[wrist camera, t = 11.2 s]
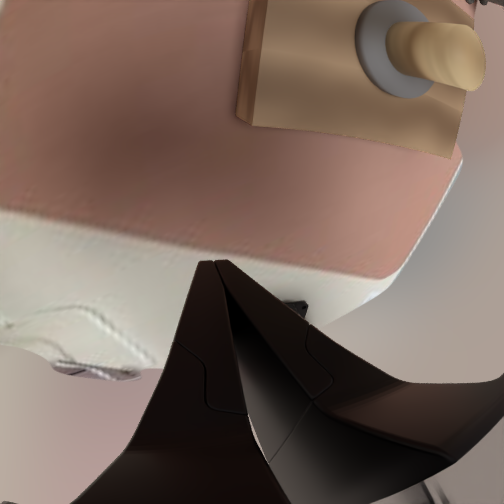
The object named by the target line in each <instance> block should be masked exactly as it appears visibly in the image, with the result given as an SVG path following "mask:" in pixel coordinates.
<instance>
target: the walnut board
mask: <svg viewBox="0 0 504 504" xmlns="http://www.w3.org/2000/svg"><path fill="white" fill-rule="evenodd" d="M377 1H383V0H249V6H248V14H247V21H246V29H245V36H244V44H243V52H242V61H241V69H240V78H239V87H238V96H237V105H236V114H235V115H236V116H237V117H239V118H240V119H242V120H244V121H245V122H247V123H248V124H250V125H251V126H261V127H274V128H285V129H295V130H305V131H313V132H321V133H328V134H335V135H342V136H348V137H354V138H360V139H366V140H371V141H376V142H381V143H386V144H391V145H396V146H400V147H405V148H409V149H413V150H417V151H421V152H425V153H429V154H433V155H437V156H440V157H444V158H448V159H451V156H452V153H453V149H454V145H455V142H456V138H457V133H458V129H459V125H460V120H461V116H462V112H463V107H464V101H465V96H466V90H465V89H461V88H458V87H454V86H451V85H447V84H443V83H439V82H434V83H433V85H432V86H431V88H430V89H429V90H428V91H427V92H426V93H424V94H423V95H421V96H419V97H416V98H409V99H408V98H402V97H398V96H394V95H391V94H388V93H385V92H384V91H382V90H380V89H379V88H378V87H376V86H375V85H374V84H373V83H372V82H371V81H370V80H369V78H368V77H367V76H366V74H365V72H364V71H363V69H362V67H361V65H360V62H359V60H358V57H357V53H356V49H355V38H354V36H355V27H356V23H357V20H358V18H359V16H360V14H361V13H362V11H363V10H364V9H365V8H366V7H367V6H369V5H370V4H372V3H374V2H377ZM402 1H405V2H407V3H409V4H411V5H413V6H414V7H416V8H417V9H418V10H419V11H421V12H422V13H423V14H424V16H425V17H426V18H427V19H428V21H429V22H438V23H452V24H462V25H467V26H469V27H470V28H472V29H473V30H474V19H473V18H471V17H470V16H469V15H468V14H467V13H466V12H464V11H463V10H462V9H461V8H460V7H458V6H457V5H456V4H455V3H453V2H452V1H451V0H402Z"/></svg>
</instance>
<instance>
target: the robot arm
mask: <svg viewBox="0 0 504 504" xmlns="http://www.w3.org/2000/svg"><path fill="white" fill-rule="evenodd" d="M307 309H308V304H307V303H306V302H297V303H290V304H284V303H283V302H282V301H280V300H279V299H278V298H276V297H275V296H274V295H272V294H271V293H270V292H269V291H267V290H266V289H265V288H264V287H262V286H261V285H260V284H258V283H257V282H256V281H255V280H253V279H252V278H251V277H249V276H248V275H247V274H246V273H244V272H243V271H242V270H241V269H239V268H238V267H237V266H236V265H234V264H233V263H232V262H230V261H229V260H227V259H226V260H215V261H214V262H213V261H212V260H208V261H199V262H198V265H197V268H196V271H195V274H194V277H193V280H192V283H191V286H190V289H189V292H188V295H187V298H186V301H185V304H184V307H183V311H182V314H181V317H180V320H179V323H178V326H177V330H176V333H175V336H174V340H173V342H172V345H171V349H170V352H169V355H168V358H167V361H166V364H165V367H164V370H163V372H162V374H161V377H160V379H159V381H158V384H157V386H156V388H155V390H154V392H153V395H152V397H151V399H150V401H149V403H148V405H147V407H146V409H145V411H144V414H143V416H142V418H141V420H140V422H139V424H138V427H137V429H136V431H135V433H134V435H133V436H132V438H131V440H130V442H129V443H128V445H127V446H126V448H125V449H124V450H123V452H122V453H121V454H120V455H119V456H118V457H117V458H116V459H115V460H114V462H112V463H111V464H110V466H108V467H107V469H105V471H103V473H102V474H101V475H100V476H99V477H98V478H97V479H96V480H95V481H94V482H93V483H92V484H91V485H90V486H89V487H88V488H87V489H85V491H83V492H82V493H81V495H79V496H78V498H76V499H75V500H74V501H72V502H71V503H70V504H504V373H503V375H501V376H500V377H499V378H497V379H495V380H492V381H488V382H480V383H457V384H454V383H451V384H450V383H447V384H436V383H435V384H433V383H430V384H429V383H410V382H406V381H402V380H399V379H397V378H394V377H392V376H390V375H389V374H387V373H385V372H383V371H382V370H380V369H378V368H377V367H375V366H373V365H372V364H370V363H368V362H366V361H365V360H363V359H362V358H360V357H358V356H356V355H355V354H353V353H351V352H350V351H349V350H347V349H345V348H344V347H342V346H341V345H339V344H338V343H336V342H335V341H333V340H331V339H330V338H329V337H328V336H326V335H325V334H324V333H322V332H321V331H319V330H318V329H317V328H316V327H314V326H313V325H312V324H310V325H309V322H307V321H306V320H305V319H304V318H305V315H306V312H307ZM247 411H248V412H247ZM248 414H249V417H250V419H251V422H252V424H253V427H254V429H255V432H256V434H257V437H258V440H259V442H260V445H261V447H262V449H263V452H264V454H265V457H266V459H267V461H268V463H269V464H268V463H267V461H266V460H265V457H264V455H263V454H262V452H261V450H260V448H259V446H258V444H257V442H256V441H255V438H254V435H253V432H252V429H251V425H250V422H249V417H248ZM1 504H16V503H13V502H7V501H3V502H2V503H1Z"/></svg>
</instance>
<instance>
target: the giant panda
mask: <svg viewBox="0 0 504 504" xmlns="http://www.w3.org/2000/svg"><path fill="white" fill-rule="evenodd" d="M479 1H480V3H481V4H482V5H486V4H487V1H489V2H492V3H494V4H496V5H498V6H499V7H501V8H503V11H504V0H479ZM466 2H467V3H469V4H472V3H474V0H466Z"/></svg>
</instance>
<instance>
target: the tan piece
mask: <svg viewBox="0 0 504 504" xmlns="http://www.w3.org/2000/svg"><path fill="white" fill-rule="evenodd" d="M354 38H355V49H356V53H357V57H358V60H359V62H360V65H361V67H362V69H363V71H364V72H365V74H366V76H367V77H368V78H369V80H370V81H371V82H372V83H373V84H374V85H375V86H376V87H378V88H379V89H380V90H382V91H384V92H385V93H388V94H391V95H394V96H398V97H402V98H408V99H409V98H416V97H419V96H421V95H423V94H424V93H426V92H427V91H428V90H429V89H430V88H431V86H432V85H433V83H434V82H439V83H443V84H447V85H451V86H454V87H458V88H461V89H465V90H468V91H474V90H476V89H477V88H478V87H479V86H480V85H481V83H482V81H483V79H484V75H485V69H486V60H485V53H484V49H483V46H482V43H481V41H480V39H479V37H478V35H477V34H476V32H475V31H474V30H473V29H472V28H470V27H469V26H467V25H462V24H452V23H438V22H429V21H428V19H427V18H426V17H425V16H424V14H423V13H422V12H421V11H419V10H418V9H417V8H416V7H414V6H413V5H411V4H409V3H407V2H405V1H402V0H383V1H377V2H374V3H372V4H370V5H369V6H367V7H366V8H365V9H364V10H363V11H362V13H361V14H360V16H359V18H358V20H357V23H356V27H355V36H354Z"/></svg>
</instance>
